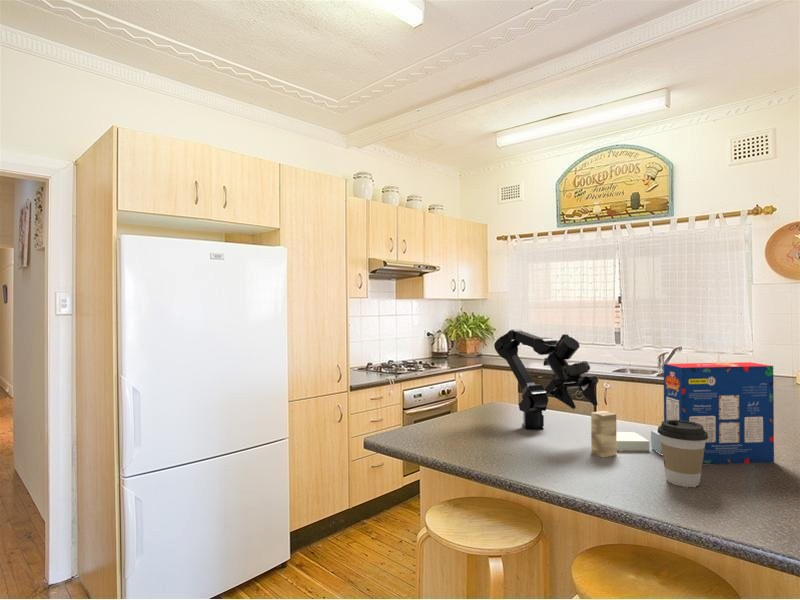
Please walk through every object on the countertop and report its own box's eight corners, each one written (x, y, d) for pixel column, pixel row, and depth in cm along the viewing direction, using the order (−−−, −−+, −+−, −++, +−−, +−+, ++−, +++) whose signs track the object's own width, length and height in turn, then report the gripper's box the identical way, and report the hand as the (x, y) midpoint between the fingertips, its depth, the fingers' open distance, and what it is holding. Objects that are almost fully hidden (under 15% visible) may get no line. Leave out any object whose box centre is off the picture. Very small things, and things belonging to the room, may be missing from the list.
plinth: (617, 452, 146) (616, 441, 146) (604, 442, 156) (604, 432, 156) (649, 452, 145) (649, 441, 145) (634, 442, 155) (634, 432, 155)
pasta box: (751, 453, 143) (750, 362, 143) (774, 462, 135) (773, 365, 135) (664, 456, 141) (663, 363, 141) (682, 465, 133) (681, 367, 133)
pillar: (591, 453, 144) (591, 412, 144) (604, 450, 146) (604, 410, 146) (603, 457, 140) (602, 415, 140) (616, 455, 142) (616, 414, 142)
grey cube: (661, 455, 141) (661, 435, 141) (651, 449, 147) (651, 430, 147) (681, 455, 141) (681, 435, 141) (670, 449, 147) (670, 430, 147)
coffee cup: (662, 471, 128) (661, 416, 128) (711, 480, 121) (711, 423, 121) (653, 483, 120) (652, 425, 120) (706, 495, 112) (705, 432, 112)
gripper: (550, 354, 151) (576, 394, 141) (594, 351, 158) (621, 389, 148) (534, 375, 158) (558, 415, 148) (577, 371, 165) (602, 409, 155)
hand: (585, 406), depth 149 cm, fingers open, 9 cm apart
